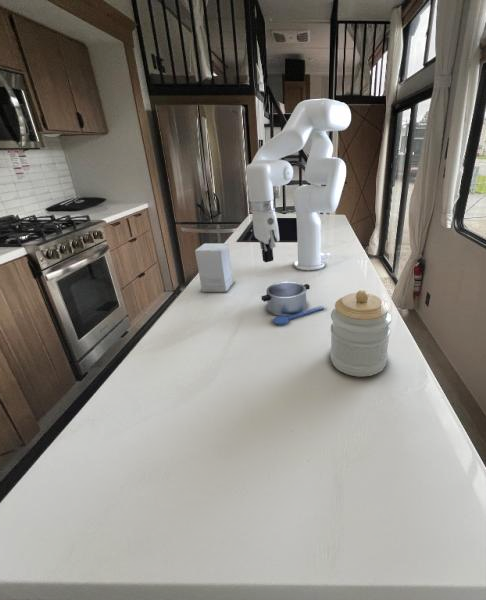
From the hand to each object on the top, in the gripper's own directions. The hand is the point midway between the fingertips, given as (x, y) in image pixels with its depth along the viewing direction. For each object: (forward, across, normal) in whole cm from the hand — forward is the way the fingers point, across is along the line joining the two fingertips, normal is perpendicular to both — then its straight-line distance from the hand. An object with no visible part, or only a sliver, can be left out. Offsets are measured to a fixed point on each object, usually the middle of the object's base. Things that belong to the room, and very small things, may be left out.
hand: (268, 260), depth 110 cm
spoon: (+9, -24, +4) cm, 26 cm away
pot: (+10, -16, +3) cm, 19 cm away
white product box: (+10, +12, +15) cm, 22 cm away
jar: (+9, -50, +3) cm, 50 cm away
